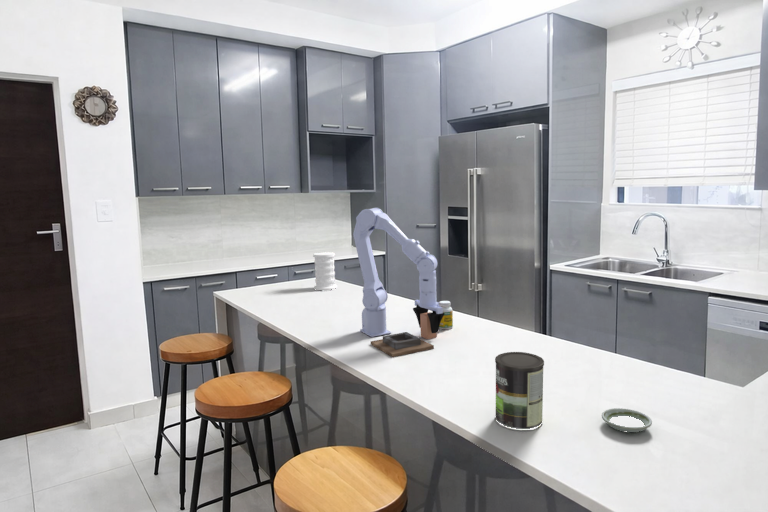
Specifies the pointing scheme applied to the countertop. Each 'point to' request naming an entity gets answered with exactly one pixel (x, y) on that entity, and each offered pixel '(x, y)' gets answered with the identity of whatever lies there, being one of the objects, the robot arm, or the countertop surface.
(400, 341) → the peg holder
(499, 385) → the coffee can
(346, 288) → the countertop surface
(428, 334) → the peg
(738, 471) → the countertop surface
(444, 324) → the supplement bottle
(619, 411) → the grey-green ring
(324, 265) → the decorative container
